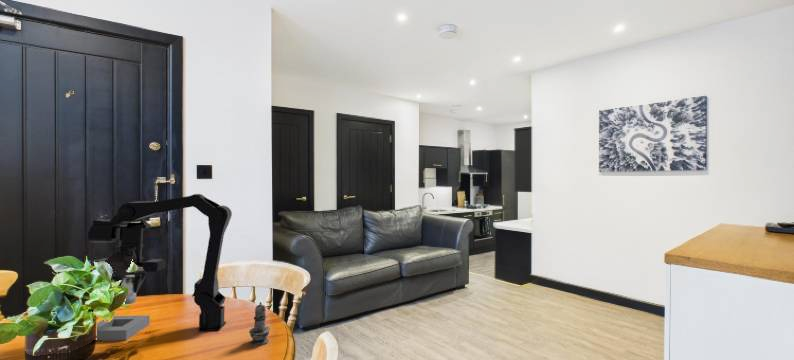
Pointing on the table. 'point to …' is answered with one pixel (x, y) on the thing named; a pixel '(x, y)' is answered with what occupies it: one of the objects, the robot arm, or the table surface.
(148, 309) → the table surface
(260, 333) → the grey tower figurine
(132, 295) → the grey metallic cylinder
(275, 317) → the table surface
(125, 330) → the socket block
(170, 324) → the table surface
